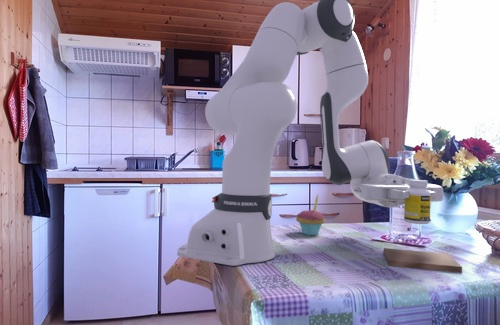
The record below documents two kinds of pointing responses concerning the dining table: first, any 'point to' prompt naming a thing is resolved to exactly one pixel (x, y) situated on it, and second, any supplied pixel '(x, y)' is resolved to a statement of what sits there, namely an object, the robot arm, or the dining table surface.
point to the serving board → (421, 260)
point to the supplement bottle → (418, 203)
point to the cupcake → (310, 220)
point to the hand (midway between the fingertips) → (420, 195)
